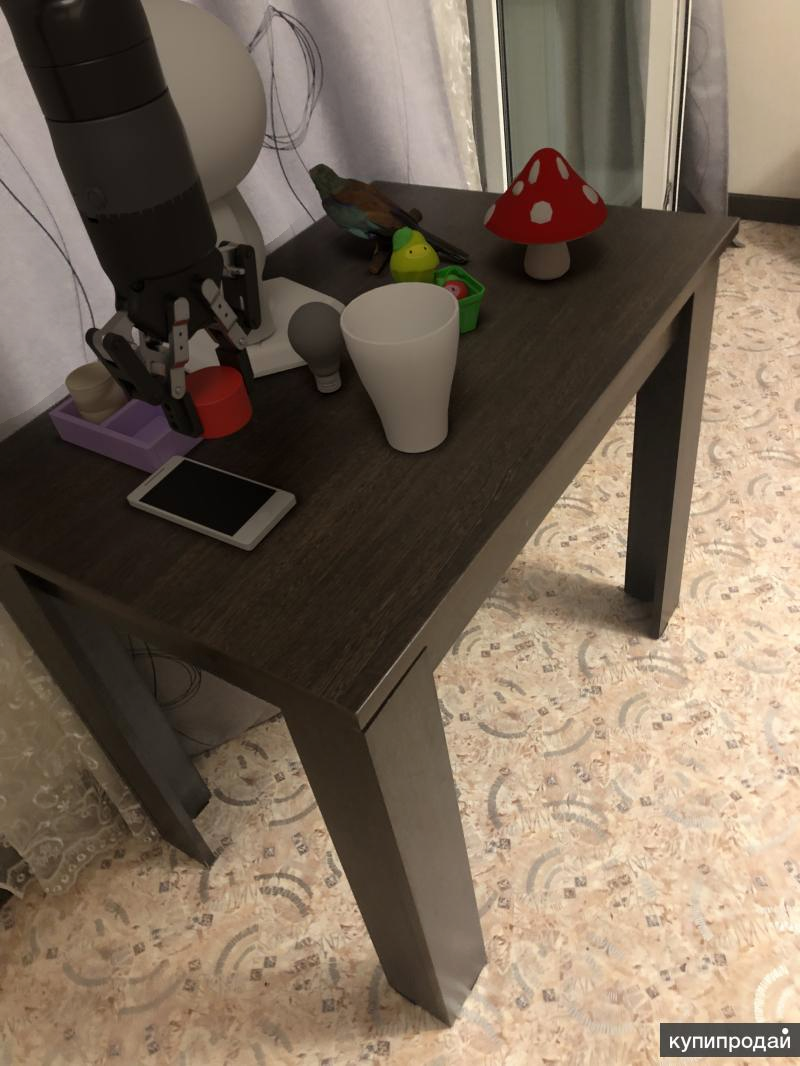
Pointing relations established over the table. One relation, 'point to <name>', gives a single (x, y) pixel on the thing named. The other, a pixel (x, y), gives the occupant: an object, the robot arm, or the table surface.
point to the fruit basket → (435, 274)
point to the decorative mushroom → (546, 213)
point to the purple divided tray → (125, 434)
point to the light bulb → (318, 342)
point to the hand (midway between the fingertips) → (216, 411)
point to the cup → (406, 358)
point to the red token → (219, 400)
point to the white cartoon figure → (226, 162)
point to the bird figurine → (371, 215)
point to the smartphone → (212, 501)
